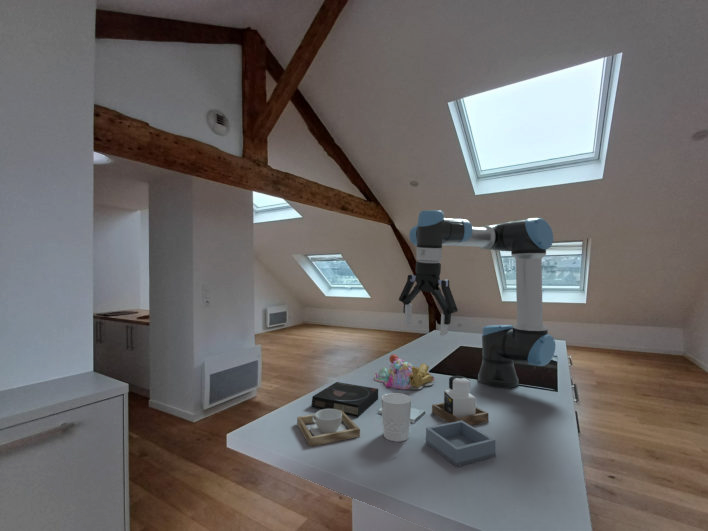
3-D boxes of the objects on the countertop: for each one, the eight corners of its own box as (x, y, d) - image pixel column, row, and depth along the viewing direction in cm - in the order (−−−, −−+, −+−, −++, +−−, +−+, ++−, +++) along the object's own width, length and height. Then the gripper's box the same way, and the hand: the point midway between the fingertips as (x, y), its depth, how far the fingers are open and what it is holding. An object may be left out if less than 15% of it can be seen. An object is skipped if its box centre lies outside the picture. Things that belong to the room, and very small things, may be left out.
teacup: (351, 426, 94) (351, 409, 94) (338, 442, 85) (338, 424, 85) (319, 421, 98) (319, 404, 98) (303, 436, 88) (303, 418, 88)
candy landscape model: (442, 379, 139) (442, 357, 139) (421, 396, 119) (422, 370, 120) (388, 369, 152) (388, 349, 153) (362, 383, 133) (362, 360, 133)
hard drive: (425, 410, 103) (390, 401, 110) (414, 419, 96) (377, 409, 103) (425, 415, 103) (389, 406, 110) (414, 425, 96) (377, 414, 103)
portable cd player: (311, 409, 107) (311, 396, 107) (336, 392, 122) (336, 381, 122) (357, 419, 100) (357, 406, 100) (378, 400, 115) (378, 388, 115)
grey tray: (461, 434, 89) (461, 420, 90) (495, 456, 79) (495, 440, 79) (426, 442, 85) (426, 427, 85) (456, 466, 74) (456, 449, 74)
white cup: (410, 444, 84) (410, 404, 84) (379, 441, 85) (379, 402, 86) (411, 430, 92) (411, 394, 92) (383, 427, 93) (383, 391, 93)
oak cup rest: (341, 416, 100) (341, 409, 100) (359, 436, 88) (359, 428, 88) (297, 424, 95) (297, 416, 95) (310, 446, 82) (310, 438, 82)
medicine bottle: (443, 412, 104) (443, 374, 104) (465, 412, 105) (465, 373, 105) (452, 422, 97) (452, 381, 97) (476, 421, 97) (475, 380, 98)
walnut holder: (461, 407, 108) (461, 399, 108) (488, 421, 98) (488, 413, 98) (432, 412, 104) (432, 404, 104) (457, 428, 93) (457, 419, 93)
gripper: (389, 258, 108) (387, 321, 110) (458, 266, 90) (453, 342, 92) (404, 257, 113) (401, 318, 115) (472, 264, 95) (467, 336, 97)
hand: (424, 329), depth 104 cm, fingers open, 13 cm apart
